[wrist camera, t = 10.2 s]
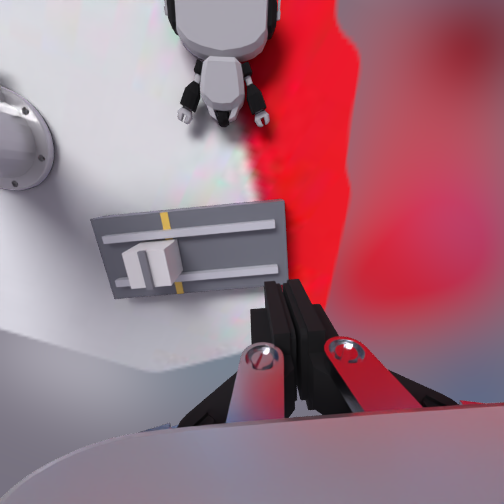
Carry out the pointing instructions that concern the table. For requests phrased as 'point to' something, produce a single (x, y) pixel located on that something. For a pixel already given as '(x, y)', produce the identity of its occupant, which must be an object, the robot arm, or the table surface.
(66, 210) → the table surface
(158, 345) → the table surface
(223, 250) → the grey slider rail base
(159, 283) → the fader tab
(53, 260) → the table surface
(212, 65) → the robot toy
